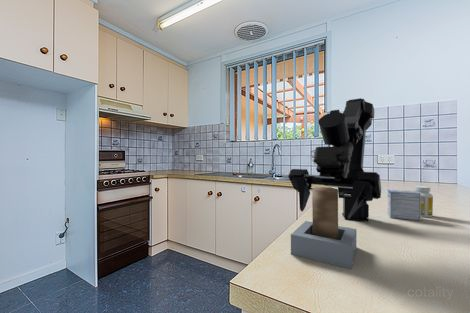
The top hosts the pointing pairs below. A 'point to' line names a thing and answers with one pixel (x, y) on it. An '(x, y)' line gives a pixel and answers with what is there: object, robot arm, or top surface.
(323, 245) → the well
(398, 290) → the top surface
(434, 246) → the top surface
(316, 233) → the walnut cylinder
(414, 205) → the medicine box
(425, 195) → the supplement bottle
